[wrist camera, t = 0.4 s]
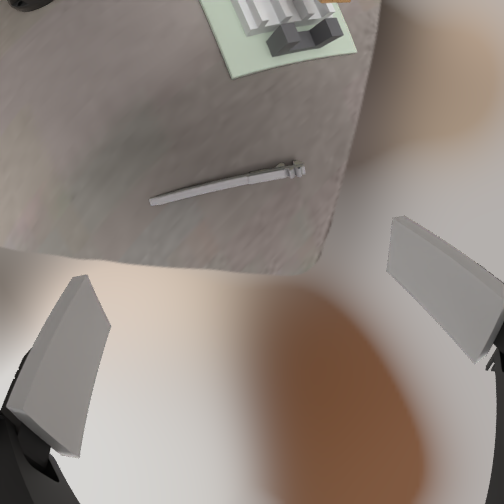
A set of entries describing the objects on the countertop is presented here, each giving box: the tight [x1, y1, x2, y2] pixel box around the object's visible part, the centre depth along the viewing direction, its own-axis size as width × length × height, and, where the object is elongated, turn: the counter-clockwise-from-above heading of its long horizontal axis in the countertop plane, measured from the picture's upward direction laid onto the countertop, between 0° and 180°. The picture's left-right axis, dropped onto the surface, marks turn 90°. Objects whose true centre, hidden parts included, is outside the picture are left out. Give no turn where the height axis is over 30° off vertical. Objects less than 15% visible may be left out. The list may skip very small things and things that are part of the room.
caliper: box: [149, 160, 305, 206], centre depth 33 cm, size 20×1×6 cm, turn 103°
